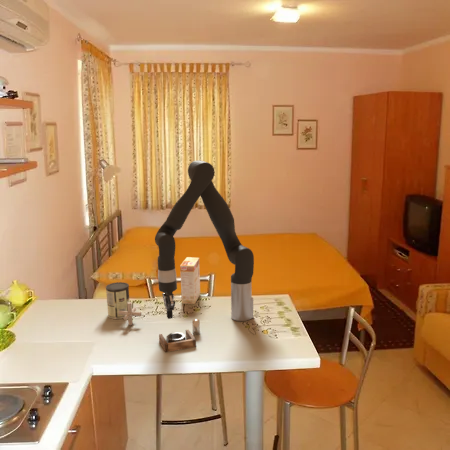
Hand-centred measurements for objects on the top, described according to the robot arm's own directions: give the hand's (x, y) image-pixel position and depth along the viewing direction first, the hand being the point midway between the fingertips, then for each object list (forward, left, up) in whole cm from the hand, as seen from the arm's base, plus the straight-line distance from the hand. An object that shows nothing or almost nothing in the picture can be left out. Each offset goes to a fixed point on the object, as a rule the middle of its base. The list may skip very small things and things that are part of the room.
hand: (169, 317), depth 202 cm
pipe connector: (+14, -14, -6) cm, 21 cm away
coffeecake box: (-20, -34, -6) cm, 40 cm away
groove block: (0, +12, -6) cm, 14 cm away
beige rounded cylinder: (-10, +6, -6) cm, 13 cm away
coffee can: (+17, -27, -6) cm, 33 cm away
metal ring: (+1, +12, -6) cm, 13 cm away
